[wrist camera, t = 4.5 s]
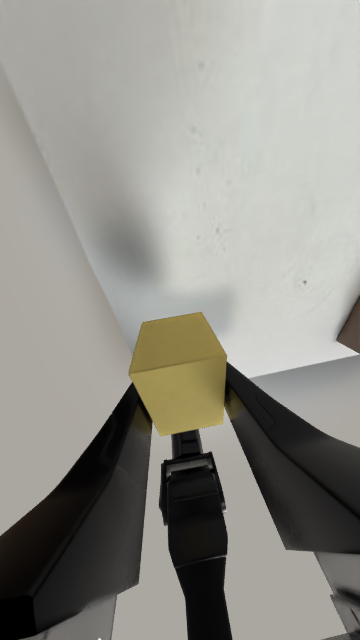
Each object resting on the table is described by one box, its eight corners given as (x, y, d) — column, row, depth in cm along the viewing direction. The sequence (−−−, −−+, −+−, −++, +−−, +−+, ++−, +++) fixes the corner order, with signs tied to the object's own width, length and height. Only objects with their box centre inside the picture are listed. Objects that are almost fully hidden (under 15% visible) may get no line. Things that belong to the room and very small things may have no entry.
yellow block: (205, 371, 12) (223, 424, 8) (160, 379, 12) (160, 437, 8) (202, 311, 9) (227, 355, 5) (141, 321, 9) (127, 373, 5)
